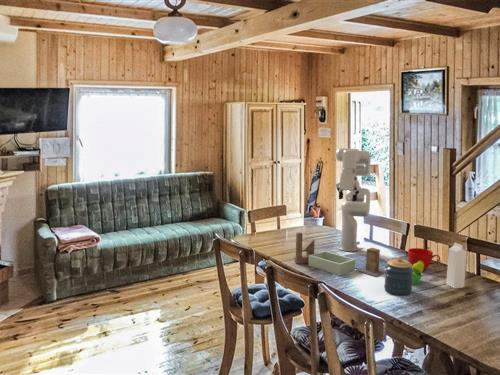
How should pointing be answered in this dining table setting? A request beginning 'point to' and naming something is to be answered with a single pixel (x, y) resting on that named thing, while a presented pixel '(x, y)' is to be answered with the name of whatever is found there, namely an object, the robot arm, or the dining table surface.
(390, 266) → the canister
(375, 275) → the felt pad
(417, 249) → the ceramic cup
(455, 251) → the milk
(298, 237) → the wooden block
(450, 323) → the dining table surface
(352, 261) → the box
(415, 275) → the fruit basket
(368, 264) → the walnut block
